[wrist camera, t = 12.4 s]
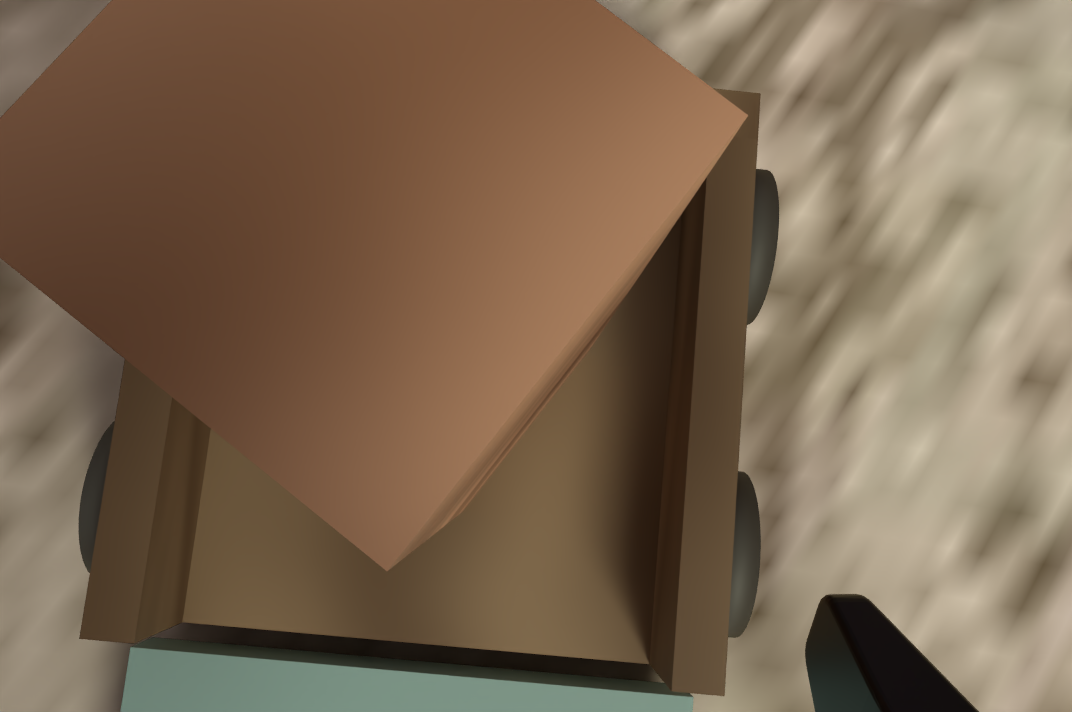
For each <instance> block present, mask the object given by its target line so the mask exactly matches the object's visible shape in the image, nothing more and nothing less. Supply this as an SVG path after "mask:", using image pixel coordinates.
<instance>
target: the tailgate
mask: <svg viewBox="0 0 1072 712" xmlns="http://www.w3.org/2000/svg"><path fill="white" fill-rule="evenodd" d="M692 710H693V696H692V695H691V694H690V693H684V692H673V691H671V690H670V689H669V688H668V686H667V685H666V684H665V683H660V682H648V681H637V680H626V679H615V678H604V677H592V676H581V675H570V674H559V673H547V672H536V671H525V670H514V669H503V668H491V667H480V666H469V665H458V664H447V663H435V662H424V661H413V660H402V659H390V658H379V657H368V656H357V655H346V654H334V653H323V652H312V651H301V650H290V649H278V648H267V647H256V646H245V645H233V644H222V643H211V642H200V641H189V640H177V639H166V638H155V637H152V638H150V639H148V640H145V641H143V642H141V643H139V644H137V645H134V646H132V647H130V653H129V660H128V666H127V673H126V679H125V686H124V692H123V699H122V705H121V712H692Z"/></svg>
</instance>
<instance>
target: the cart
mask: <svg viewBox="0 0 1072 712" xmlns="http://www.w3.org/2000/svg"><path fill="white" fill-rule="evenodd" d="M714 90H715V91H717V92H718V93H719V94H721V95H722V96H723V97H725V98H726V99H727V100H728V101H730V102H731V103H732V104H734V105H735V106H736V107H738V108H739V109H740V110H742V111H743V112H744V113H746V114H747V115H748V117H747V118H746V120H745V121H744V123H743V124H742V125H741V127H740V128H739V130H738V131H737V133H736V134H735V136H734V137H733V139H732V140H731V142H730V143H729V145H728V146H727V148H726V149H725V151H724V152H723V154H722V155H721V156H720V158H719V159H718V161H717V162H716V164H715V165H714V167H713V168H712V170H711V171H710V173H709V174H708V176H707V177H706V179H705V180H704V182H703V183H702V185H701V186H700V187H699V189H698V190H697V192H696V193H695V195H694V196H693V198H692V199H691V201H690V202H689V204H688V205H687V207H686V208H685V210H684V211H683V213H682V214H681V216H680V217H679V219H678V220H677V221H676V223H675V224H674V226H673V227H672V229H671V230H670V232H669V233H668V235H667V236H666V238H665V239H664V241H663V242H662V244H661V245H660V247H659V248H658V250H657V251H656V252H655V254H654V255H653V257H652V258H651V260H650V261H649V263H648V264H647V266H646V267H645V269H644V270H643V272H642V273H641V275H640V276H639V278H638V279H637V281H636V282H635V283H634V285H633V286H632V288H631V289H630V291H629V292H628V294H627V295H626V297H625V298H624V300H623V301H622V303H621V304H620V306H619V307H618V309H617V310H616V312H615V313H614V315H613V316H612V317H611V319H610V320H609V322H608V323H607V325H606V326H605V328H604V329H603V331H602V332H601V334H600V335H599V337H598V338H597V340H596V341H595V343H594V344H593V346H592V347H591V348H590V350H589V351H588V353H587V354H586V355H585V357H584V358H583V359H582V360H581V362H580V363H579V364H578V366H577V367H576V368H575V369H574V371H573V372H572V373H571V374H570V376H569V377H568V378H567V380H566V381H565V382H564V383H563V385H562V386H561V387H560V388H559V390H558V391H557V392H556V394H555V395H554V396H553V397H552V399H551V400H550V401H549V402H548V404H547V405H546V406H545V408H544V409H543V410H542V411H541V413H540V414H539V415H538V416H537V418H536V419H535V420H534V421H533V423H532V424H531V425H530V427H529V428H528V429H527V430H526V432H525V433H524V434H523V435H522V437H521V438H520V439H519V441H518V442H517V443H516V444H515V446H514V447H513V448H512V449H511V451H510V452H509V453H508V455H507V456H506V457H505V458H504V460H503V461H502V462H501V463H500V465H499V466H498V467H497V469H496V470H495V471H494V472H493V474H492V475H491V476H490V477H489V479H488V480H487V481H486V483H485V484H484V485H483V486H482V488H481V489H480V490H479V491H478V493H477V494H476V495H475V497H474V498H473V499H472V500H471V502H470V503H469V504H468V505H467V507H466V508H465V509H464V510H463V512H462V513H460V514H459V515H458V516H457V517H455V518H454V519H453V520H451V521H450V522H449V523H448V524H446V525H445V526H444V527H443V528H441V529H440V530H439V531H438V532H436V533H435V534H434V535H433V536H431V537H430V538H429V539H427V540H426V541H425V542H424V543H422V544H421V545H420V546H419V547H417V548H416V549H415V550H414V551H412V552H411V553H410V554H409V555H407V556H406V557H405V558H403V559H402V560H401V561H400V562H398V563H397V564H396V565H395V566H393V567H392V568H391V569H390V570H388V571H386V570H385V569H383V568H382V567H381V566H380V565H378V564H377V563H376V562H375V561H374V560H372V559H371V558H370V557H369V556H367V555H366V554H365V553H364V552H362V551H361V550H360V549H359V548H358V547H356V546H355V545H354V544H353V543H351V542H350V541H349V540H348V539H346V538H345V537H344V536H343V535H341V534H340V533H339V532H338V531H337V530H335V529H334V528H333V527H332V526H330V525H329V524H328V523H327V522H325V521H324V520H323V519H322V518H321V517H319V516H318V515H317V514H316V513H314V512H313V511H312V510H311V509H309V508H308V507H307V506H306V505H305V504H303V503H302V502H301V501H300V500H298V499H297V498H296V497H295V496H293V495H292V494H291V493H290V492H288V491H287V490H286V489H285V488H284V487H282V486H281V485H280V484H279V483H277V482H276V481H275V480H274V479H272V478H271V477H270V476H269V475H268V474H266V473H265V472H264V471H263V470H261V469H260V468H259V467H258V466H256V465H255V464H254V463H253V462H251V461H250V460H249V459H248V458H247V457H245V456H244V455H243V454H242V453H240V452H239V451H238V450H237V449H235V448H234V447H233V446H232V445H231V444H229V443H228V442H227V441H226V440H224V439H223V438H222V437H221V436H219V435H218V434H217V433H216V432H215V431H213V430H212V429H211V428H210V427H208V426H207V425H206V424H205V423H203V422H202V421H201V420H200V419H198V418H197V417H196V416H195V415H194V414H192V413H191V412H190V411H189V410H187V409H186V408H185V407H184V406H182V405H181V404H180V403H179V402H178V401H176V400H175V399H174V398H173V397H171V396H170V395H169V394H168V393H166V392H165V391H164V390H163V389H161V388H160V387H159V386H158V385H157V384H155V383H154V382H153V381H152V380H150V379H149V378H148V377H147V376H145V375H144V374H143V373H142V372H141V371H139V370H138V369H137V368H136V367H134V366H133V365H132V364H131V363H129V362H128V361H127V360H126V359H125V362H124V368H123V374H122V380H121V386H120V393H119V399H118V405H117V411H116V417H115V421H114V422H113V423H112V424H111V425H110V426H109V427H108V429H107V430H106V432H105V433H104V434H103V436H102V438H101V440H100V441H99V443H98V445H97V447H96V449H95V452H94V454H93V456H92V459H91V462H90V464H89V468H88V471H87V474H86V478H85V482H84V486H83V491H82V496H81V503H80V511H79V543H80V550H81V554H82V558H83V561H84V564H85V566H86V568H87V570H88V572H89V573H90V576H89V582H88V589H87V595H86V601H85V607H84V613H83V619H82V625H81V631H80V638H79V639H88V640H99V641H111V642H122V643H133V644H134V643H136V642H139V641H141V640H143V639H146V638H148V637H150V636H152V635H155V634H157V633H159V632H161V631H164V630H166V629H168V628H170V627H173V626H175V625H177V624H180V623H182V622H185V623H197V624H208V625H219V626H230V627H241V628H252V629H263V630H275V631H286V632H297V633H308V634H319V635H330V636H341V637H353V638H364V639H375V640H386V641H397V642H408V643H420V644H431V645H442V646H453V647H464V648H475V649H486V650H498V651H509V652H520V653H531V654H542V655H553V656H564V657H576V658H587V659H598V660H609V661H620V662H631V663H642V664H650V666H651V667H652V668H653V669H654V671H655V672H656V673H657V674H658V675H659V677H660V678H661V679H662V680H663V681H664V683H665V684H666V685H667V686H668V688H669V689H670V690H671V691H673V692H684V693H695V694H707V695H718V696H724V695H725V678H726V661H727V645H728V637H733V638H736V637H739V636H740V635H741V634H742V633H743V632H744V630H745V628H746V627H747V624H748V622H749V620H750V617H751V614H752V610H753V606H754V602H755V597H756V592H757V586H758V578H759V568H760V549H761V536H760V519H759V510H758V503H757V498H756V494H755V490H754V487H753V484H752V482H751V480H750V478H749V476H748V475H747V474H746V473H744V472H739V471H738V461H739V445H740V428H741V411H742V395H743V378H744V361H745V345H746V328H747V325H748V324H750V323H752V322H753V321H754V319H755V318H756V317H757V315H758V313H759V311H760V309H761V307H762V305H763V302H764V300H765V297H766V294H767V291H768V287H769V284H770V280H771V276H772V271H773V267H774V261H775V255H776V248H777V240H778V228H779V200H778V191H777V185H776V181H775V178H774V176H773V174H772V173H771V172H770V171H768V170H762V169H756V161H757V145H758V128H759V111H760V95H761V94H760V93H750V92H741V91H732V90H722V89H714Z"/></svg>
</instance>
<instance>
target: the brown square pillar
mask: <svg viewBox="0 0 1072 712" xmlns="http://www.w3.org/2000/svg"><path fill="white" fill-rule="evenodd" d="M747 117H748V115H747V114H746V113H744V112H743V111H742V110H740V109H739V108H738V107H736V106H735V105H734V104H732V103H731V102H730V101H728V100H727V99H726V98H725V97H723V96H722V95H721V94H719V93H718V92H717V91H715V90H714V89H713V88H711V87H710V86H709V85H707V84H706V83H705V82H703V81H702V80H701V79H699V78H698V77H697V76H695V75H694V74H693V73H691V72H690V71H689V70H687V69H686V68H685V67H683V66H682V65H681V64H679V63H678V62H677V61H675V60H674V59H673V58H671V57H670V56H669V55H667V54H666V53H665V52H663V51H662V50H661V49H659V48H658V47H657V46H655V45H654V44H653V43H651V42H650V41H649V40H647V39H646V38H645V37H643V36H642V35H641V34H639V33H638V32H637V31H635V30H634V29H633V28H631V27H630V26H629V25H627V24H626V23H625V22H623V21H622V20H621V19H619V18H618V17H617V16H615V15H614V14H613V13H611V12H610V11H609V10H607V9H606V8H605V7H603V6H602V5H601V4H599V3H598V2H597V1H595V0H112V1H111V2H110V3H109V4H108V5H107V6H106V7H105V8H104V9H103V10H102V11H101V12H100V13H99V14H98V15H97V16H96V18H95V19H94V20H93V21H92V22H91V23H90V24H89V25H88V26H87V27H86V28H85V29H84V30H83V31H82V32H81V33H80V34H79V35H78V37H77V38H76V39H75V40H74V41H73V42H72V43H71V44H70V45H69V46H68V47H67V48H66V49H65V50H64V51H63V52H62V53H61V54H60V56H59V57H58V58H57V59H56V60H55V61H54V62H53V63H52V64H51V65H50V66H49V67H48V68H47V69H46V70H45V71H44V72H43V73H42V74H41V76H40V77H39V78H38V79H37V80H36V81H35V82H34V83H33V84H32V85H31V86H30V87H29V88H28V89H27V90H26V91H25V92H24V93H23V95H22V96H21V97H20V98H19V99H18V100H17V101H16V102H15V103H14V104H13V105H12V106H11V107H10V108H9V109H8V110H7V111H6V112H5V114H4V115H3V116H2V117H1V118H0V258H1V259H2V260H4V261H5V262H6V263H7V264H9V265H10V266H11V267H12V268H14V269H15V270H16V271H17V272H18V273H20V274H21V275H22V276H23V277H25V278H26V279H27V280H28V281H30V282H31V283H32V284H33V285H34V286H36V287H37V288H38V289H39V290H41V291H42V292H43V293H44V294H46V295H47V296H48V297H49V298H51V299H52V300H53V301H54V302H55V303H57V304H58V305H59V306H60V307H62V308H63V309H64V310H65V311H67V312H68V313H69V314H70V315H71V316H73V317H74V318H75V319H76V320H78V321H79V322H80V323H81V324H83V325H84V326H85V327H86V328H88V329H89V330H90V331H91V332H92V333H94V334H95V335H96V336H97V337H99V338H100V339H101V340H102V341H104V342H105V343H106V344H107V345H108V346H110V347H111V348H112V349H113V350H115V351H116V352H117V353H118V354H120V355H121V356H122V357H123V358H124V359H126V360H127V361H128V362H129V363H131V364H132V365H133V366H134V367H136V368H137V369H138V370H139V371H141V372H142V373H143V374H144V375H145V376H147V377H148V378H149V379H150V380H152V381H153V382H154V383H155V384H157V385H158V386H159V387H160V388H161V389H163V390H164V391H165V392H166V393H168V394H169V395H170V396H171V397H173V398H174V399H175V400H176V401H178V402H179V403H180V404H181V405H182V406H184V407H185V408H186V409H187V410H189V411H190V412H191V413H192V414H194V415H195V416H196V417H197V418H198V419H200V420H201V421H202V422H203V423H205V424H206V425H207V426H208V427H210V428H211V429H212V430H213V431H215V432H216V433H217V434H218V435H219V436H221V437H222V438H223V439H224V440H226V441H227V442H228V443H229V444H231V445H232V446H233V447H234V448H235V449H237V450H238V451H239V452H240V453H242V454H243V455H244V456H245V457H247V458H248V459H249V460H250V461H251V462H253V463H254V464H255V465H256V466H258V467H259V468H260V469H261V470H263V471H264V472H265V473H266V474H268V475H269V476H270V477H271V478H272V479H274V480H275V481H276V482H277V483H279V484H280V485H281V486H282V487H284V488H285V489H286V490H287V491H288V492H290V493H291V494H292V495H293V496H295V497H296V498H297V499H298V500H300V501H301V502H302V503H303V504H305V505H306V506H307V507H308V508H309V509H311V510H312V511H313V512H314V513H316V514H317V515H318V516H319V517H321V518H322V519H323V520H324V521H325V522H327V523H328V524H329V525H330V526H332V527H333V528H334V529H335V530H337V531H338V532H339V533H340V534H341V535H343V536H344V537H345V538H346V539H348V540H349V541H350V542H351V543H353V544H354V545H355V546H356V547H358V548H359V549H360V550H361V551H362V552H364V553H365V554H366V555H367V556H369V557H370V558H371V559H372V560H374V561H375V562H376V563H377V564H378V565H380V566H381V567H382V568H383V569H385V570H386V571H388V570H390V569H391V568H392V567H393V566H395V565H396V564H397V563H398V562H400V561H401V560H402V559H403V558H405V557H406V556H407V555H409V554H410V553H411V552H412V551H414V550H415V549H416V548H417V547H419V546H420V545H421V544H422V543H424V542H425V541H426V540H427V539H429V538H430V537H431V536H433V535H434V534H435V533H436V532H438V531H439V530H440V529H441V528H443V527H444V526H445V525H446V524H448V523H449V522H450V521H451V520H453V519H454V518H455V517H457V516H458V515H459V514H460V513H462V512H463V510H464V509H465V508H466V507H467V505H468V504H469V503H470V502H471V500H472V499H473V498H474V497H475V495H476V494H477V493H478V491H479V490H480V489H481V488H482V486H483V485H484V484H485V483H486V481H487V480H488V479H489V477H490V476H491V475H492V474H493V472H494V471H495V470H496V469H497V467H498V466H499V465H500V463H501V462H502V461H503V460H504V458H505V457H506V456H507V455H508V453H509V452H510V451H511V449H512V448H513V447H514V446H515V444H516V443H517V442H518V441H519V439H520V438H521V437H522V435H523V434H524V433H525V432H526V430H527V429H528V428H529V427H530V425H531V424H532V423H533V421H534V420H535V419H536V418H537V416H538V415H539V414H540V413H541V411H542V410H543V409H544V408H545V406H546V405H547V404H548V402H549V401H550V400H551V399H552V397H553V396H554V395H555V394H556V392H557V391H558V390H559V388H560V387H561V386H562V385H563V383H564V382H565V381H566V380H567V378H568V377H569V376H570V374H571V373H572V372H573V371H574V369H575V368H576V367H577V366H578V364H579V363H580V362H581V360H582V359H583V358H584V357H585V355H586V354H587V353H588V351H589V350H590V348H591V347H592V346H593V344H594V343H595V341H596V340H597V338H598V337H599V335H600V334H601V332H602V331H603V329H604V328H605V326H606V325H607V323H608V322H609V320H610V319H611V317H612V316H613V315H614V313H615V312H616V310H617V309H618V307H619V306H620V304H621V303H622V301H623V300H624V298H625V297H626V295H627V294H628V292H629V291H630V289H631V288H632V286H633V285H634V283H635V282H636V281H637V279H638V278H639V276H640V275H641V273H642V272H643V270H644V269H645V267H646V266H647V264H648V263H649V261H650V260H651V258H652V257H653V255H654V254H655V252H656V251H657V250H658V248H659V247H660V245H661V244H662V242H663V241H664V239H665V238H666V236H667V235H668V233H669V232H670V230H671V229H672V227H673V226H674V224H675V223H676V221H677V220H678V219H679V217H680V216H681V214H682V213H683V211H684V210H685V208H686V207H687V205H688V204H689V202H690V201H691V199H692V198H693V196H694V195H695V193H696V192H697V190H698V189H699V187H700V186H701V185H702V183H703V182H704V180H705V179H706V177H707V176H708V174H709V173H710V171H711V170H712V168H713V167H714V165H715V164H716V162H717V161H718V159H719V158H720V156H721V155H722V154H723V152H724V151H725V149H726V148H727V146H728V145H729V143H730V142H731V140H732V139H733V137H734V136H735V134H736V133H737V131H738V130H739V128H740V127H741V125H742V124H743V123H744V121H745V120H746V118H747Z"/></svg>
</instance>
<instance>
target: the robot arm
mask: <svg viewBox="0 0 1072 712" xmlns="http://www.w3.org/2000/svg"><path fill="white" fill-rule="evenodd" d="M805 657H806V666H807V672H808V677H809V682H810V687H811V692H812V698H813V703H814V708H815V712H979V711H978V710H977V709H976V708H975V707H974V706H973V705H972V704H971V703H970V702H969V701H968V700H967V699H966V698H965V697H964V696H963V695H962V694H961V693H960V692H959V691H958V690H957V689H956V688H955V687H954V686H953V685H952V684H951V683H950V682H949V681H948V680H947V679H946V678H945V677H944V676H943V674H942V673H941V672H940V671H939V670H938V669H937V668H936V667H935V666H934V665H933V664H932V663H931V662H930V661H929V660H928V659H927V658H926V657H925V656H924V655H923V654H922V653H921V652H920V651H919V650H918V649H917V648H916V647H915V646H914V645H913V644H912V643H911V642H910V641H909V640H908V639H907V638H906V637H905V636H904V635H903V634H902V633H901V632H900V631H899V629H898V628H897V627H896V626H895V625H894V624H893V623H892V622H891V621H890V620H889V619H888V618H887V617H886V616H885V615H884V614H883V613H882V612H881V611H880V610H879V609H878V608H877V607H876V606H875V605H874V604H873V603H872V602H871V601H870V600H869V599H867V598H866V597H864V596H862V595H858V594H830V595H826V596H824V597H823V598H822V599H821V601H820V603H819V605H818V608H817V611H816V614H815V617H814V620H813V623H812V626H811V629H810V632H809V635H808V638H807V642H806V649H805Z"/></svg>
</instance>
